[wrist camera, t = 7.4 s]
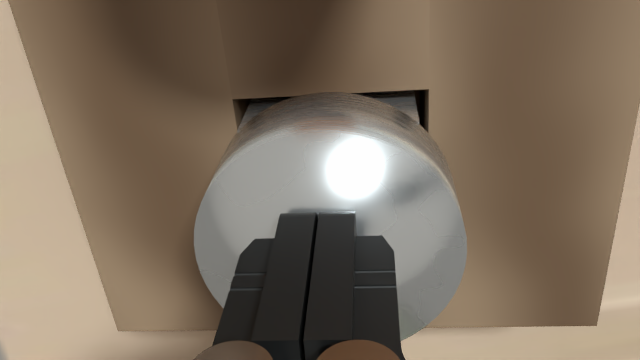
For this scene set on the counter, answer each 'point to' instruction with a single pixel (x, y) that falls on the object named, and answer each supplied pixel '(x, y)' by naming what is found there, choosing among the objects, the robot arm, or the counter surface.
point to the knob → (339, 190)
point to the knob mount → (348, 77)
